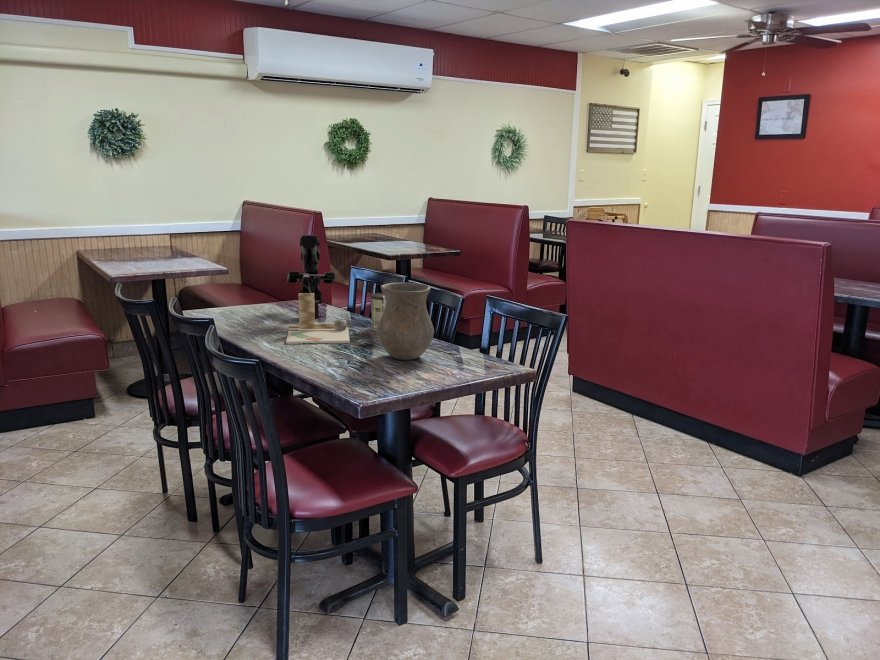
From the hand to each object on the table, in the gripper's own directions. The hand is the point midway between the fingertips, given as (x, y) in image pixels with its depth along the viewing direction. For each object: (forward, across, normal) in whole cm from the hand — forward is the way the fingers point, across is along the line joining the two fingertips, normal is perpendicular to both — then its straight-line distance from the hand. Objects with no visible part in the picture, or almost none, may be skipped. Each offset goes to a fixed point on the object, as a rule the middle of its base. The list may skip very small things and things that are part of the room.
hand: (312, 295), depth 280 cm
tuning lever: (+16, 0, +2) cm, 16 cm away
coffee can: (+16, -27, +3) cm, 32 cm away
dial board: (+21, +1, +7) cm, 22 cm away
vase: (+43, -22, +38) cm, 61 cm away
